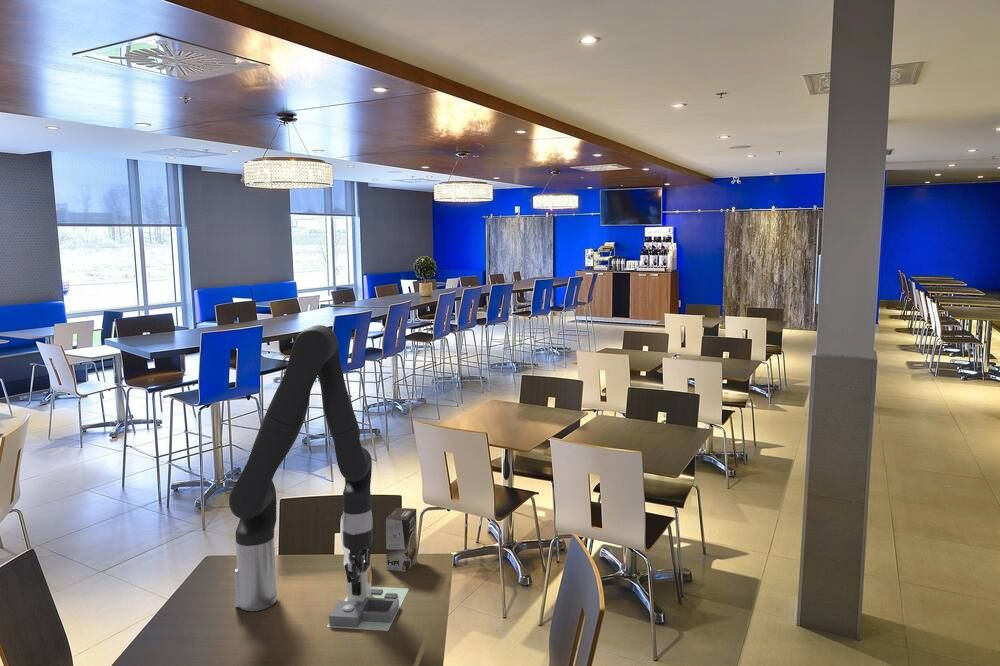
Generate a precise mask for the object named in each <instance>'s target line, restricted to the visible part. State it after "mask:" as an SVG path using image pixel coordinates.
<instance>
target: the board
mask: <svg viewBox="0 0 1000 666" xmlns="http://www.w3.org/2000/svg"><path fill="white" fill-rule="evenodd" d="M409 590H410V588H407V587H406V588H405V587H404V588H403V587H386V586H371V596H370V598H369V597H366V598H365V600H364V601H363V602H367V611H362V613H361V623H360V625H359V626H358V628H357V627H341V626H329V623H327V625H326V628H334V629H335V628H336V629H337V628H338V629H351V630H352V629H354V630H355V629H356V630H369V631H370V630H371V631H385V632H388V631H389V630H390V628H391V626H392V624H393V622H394V619H395V618H396V616H397V614H398V613H399V610H400V608H401V605H402V603H403V601H404V600H405V598H406V596H407V594H408V591H409ZM343 601H348V597H347V596H345V598H344V600H343ZM352 602H354V601H352Z"/></svg>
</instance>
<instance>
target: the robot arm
mask: <svg viewBox="0 0 1000 666" xmlns="http://www.w3.org/2000/svg"><path fill="white" fill-rule="evenodd" d="M295 337H296V338H295V339H294V342H293V345H292V348H291V351H290V354H289V359H288V362H287V364H286V368H285V371H284V375H283V376H282V378H281V381H280V383H279V385H278V387H277V388H276V391H275V392H274V395H273V397H272V399H271V401H270V403H269V405H268V407H267V409H266V413H265V415H264V417H263V419H262V422H261V425H260V427H259V430H258V432H257V435H256V438H255V440H254V442H253V446H252V448H251V451H250V453H249V456H248V460H247V461H246V463H245V466H244V467H243V470H242V471H241V473H240V475H239V476H238V479H237V481H235V482H236V483H235V484H234V486H233V487H232V489H231V491H230V493H229V497H228V505H229V508H230V512H231V513H232V515H233V516H235V517H237V518H239V521H238V523H237V527H236V529H235V535H234V536H235V552H236V569H235V570H234V572H233V579H234V580H233V584H234V585H233V586H234V603H235V606H234V607H235V608H240V609H241V610H243V611H247V612H258V611H262V610H265V609H268V608H270V607H272V606H273V605H274V604H275V603H276V602H277V600H278V594H277V593H278V591H277V589H278V588H277V570H276V569H277V567H276V546H275V527H276V524H277V490H276V486H275V484H274V481H273V479H274V476H275V474H276V472H277V470H278V469H279V467H280V465H282V462H283V461H284V460H285V458H286V457H287V455H288V454H289V453H290V450H291V449H292V447H293V446H294V445H295V442H296V440H297V438H298V436H299V434H300V432H301V430H302V427H303V425H304V422H305V419H306V416H307V414H308V413H307V412H308V407H309V404H310V403H309V402H310V397H311V392H312V389H313V386H314V383H315V381H316V380H317V378H318V381H319V385H320V391H321V399H322V407H323V408H322V409H323V411H324V417H325V420H326V424H327V427H328V429H329V433H330V436H331V438H332V440H333V441H332V442H333V445H334V452H335V457H336V463H337V466H338V470H339V472H340V474H341V476H342V477H343V478H344V488H343V491H342V515H343V517H342V527H343V545H344V547H345V548H347V549H349V550H350V553H349V557H348V560H349V563H346V564H345V566H344V569H345V575H346V582H347V581H348V583H352V595H354V596H360V594H361V572H363V566H364V565H367V564H370V565H371V563H370V561H371V552H372V550H371V546H372V545H373V542H374V530H373V529H374V525H373V524H374V523H373V522H374V521H373V519H374V518H373V513H372V511H373V510H372V494H371V493H372V491H371V483H372V471H373V470H372V469H373V465H372V464H373V461H372V456H371V454H370V452H369V451H368V450H367V449H366V448H365V447H363V446H362V443H361V439H360V438H361V430H360V426H359V423H358V420H357V417H356V413H355V410H354V408H353V404H352V401H351V398H350V396H349V392H348V389H347V384H346V381H345V378H344V372H343V368H342V363H341V356H340V349H339V344H338V343H339V342H338V338H337V335H336V334H335V332H334V330H332V329H331V328H330V327H328V326H325V325H322V324H321V325H320V324H317V325H313V326H310V327H307V328H305V329H303V330H301V332H299V333H298V334H297V336H295ZM357 567H360V569H357Z"/></svg>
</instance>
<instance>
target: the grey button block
mask: <svg viewBox="0 0 1000 666" xmlns="http://www.w3.org/2000/svg"><path fill="white" fill-rule="evenodd" d="M362 611H367V602H359V601H357V602H352V601H344V600H339V601H338V602H337V604H336V605H335V606H334V608H333V609H332V611H331V612H330V613H329V615H328V624H329V626H341V627H357V628H358V626H359V625H360V623H361V613H362Z"/></svg>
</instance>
